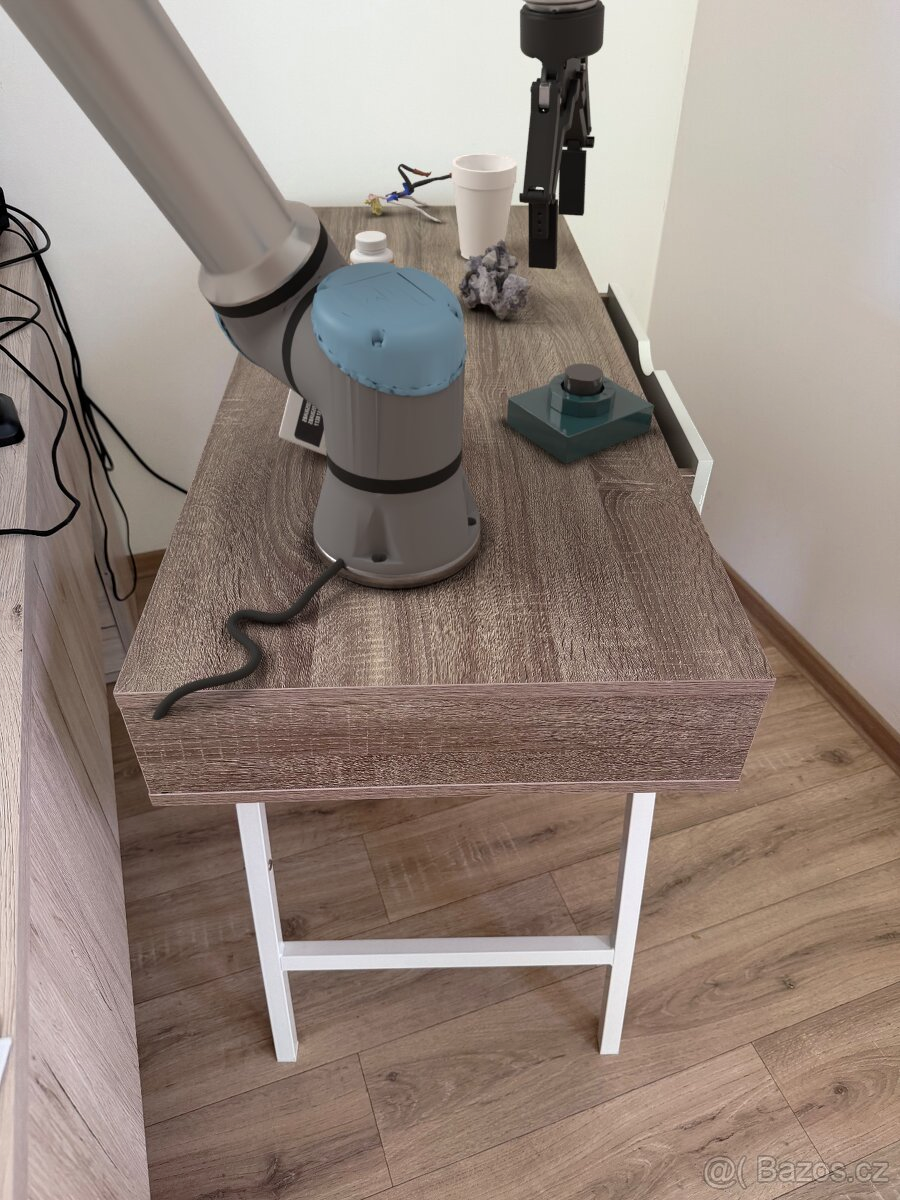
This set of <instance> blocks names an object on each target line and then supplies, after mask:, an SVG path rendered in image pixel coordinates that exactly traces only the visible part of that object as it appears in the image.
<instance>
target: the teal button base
mask: <svg viewBox="0 0 900 1200" xmlns="http://www.w3.org/2000/svg"><path fill="white" fill-rule="evenodd" d="M564 375H565V372H562V373H560V374H556V375H554V376H553V377H552V379H551V380H549V382H548V384H545V385H542V386H539V387H536V388H533V389H530V390H527V391H524V392H521V393H518V394H515V395H512V396H509V397H507V410H506V411H507V412H506V424H507V425H508V426H509V427H511V428H512V429H514V431H516V432H518V433H519V434H521V435H522V436H524V437H525V438H527V439H528V440H530V441H531V442H533V443H534V444H535V445H537V446H538V447H540V448H542V450H544V451H546V452H547V453H548V454H550V455H551V456H553V457H554V458H556V459H557V460H559V461H560V462H561V463H563V464H565V465H566V464H569V463H572V462H575V461H577V460H579V459H582V458H585V457H588V456H589V455H590V456H591V455H593V454H595V453H598V452H600V451H603V450H605V449H607V448H610V447H613V446H616V445H618V444H621V443H623V442H625V441H629V440H631V439H633V438H636V437H639V436H642V435H644V434H646V433H649V432H650V431H651V427H652V425H651V424H652V419H653V414H654V409H655V408H654V407H655V405H654V404H653V403H651V402H649V401H648V400H646V399H644V398H642V397H641V396H639V395H637V394H635V393H634V392H632V391H630V390H628V389H626V388H625V387H623V386H621V385H620V384H618V383H617V382H615V381H613V380H612V379H610V378H608V377H607V376H605V375H603V380H602V388H601V393H600V394H597V395H594V396H586V397H580V396H576V395H571V394H569V393H567V392H565V391H564V389H563V385H564Z"/></svg>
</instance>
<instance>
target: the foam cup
mask: <svg viewBox="0 0 900 1200" xmlns="http://www.w3.org/2000/svg"><path fill="white" fill-rule="evenodd" d="M517 172H518V163H517V160H516V159H514V158H512V157H510V156H507V155H503V154H498V153H485V152H482V153H481V152H480V153H468V154H463V155H459V156H456V157H454V158H453V159H452V160H451V173H452V178H451V182H452V184H453V185H452V186H453V193H454V203H455V204H454V205H455V211H456V222H457V231H458V239H459V249H460V255H461V257H462V258H464V259H466V260H469V256H470V255H471V256H474V257H475V256H479V255H482V256H483V255H485V250H486V248H487V247H491V246H492V245H495V246H496V245H497V243H498V241H499V239H502V240H503V241H505V242H506V236H507V229H508V224H509V218H510V212H511V206H512V202H513V201H512V200H513V194H514V191H515V190H514V189H515V184H517V174H518V173H517Z"/></svg>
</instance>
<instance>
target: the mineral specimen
mask: <svg viewBox="0 0 900 1200" xmlns="http://www.w3.org/2000/svg"><path fill="white" fill-rule="evenodd" d="M519 263H520V261H519V260H517V257H516V256H514V255H512V254H511V253H509V249H508V248H507V245H506V240H505V241H503V240H502V239H499V241H498V243H497V245H496V246H495V245H492V246H491V247H487V248H486V250H485V255H483V256H482V255H479V256H475V257H474V256H471V255H470V256H469V259H468V261H466V262H465V263H464V264H463V275H462V278H461V280H460V281H461V282H460V283H459V284H458V286H457V287H458V291H459V296H460V297H461V298H462V301H463V304H464V305H465V306H466V307H467V308H468V309H473V308H475V307H476V305H479V304H483V305H487V306H489V307H490V308H491V310H492V311H493V312H494V313H495V316H496V317H497V318H499V320H502V321H503V320H504V319H505V318H506V316H508V315H510V313H512V314H516V315H517V314H518V313H519V312H520V311H523V310H524V309H525V308H526V307H527V304H528V302H529V300H530V298H529V295H528V291H529V290H530V289H532V286H533V285H532V283H530V281H529V279H527V278H525V277H521V276H518V275H517V273H516V268H517V267H518V265H519Z"/></svg>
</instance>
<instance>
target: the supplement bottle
mask: <svg viewBox="0 0 900 1200" xmlns="http://www.w3.org/2000/svg"><path fill="white" fill-rule="evenodd" d="M354 239H355V248H354V249H353V250H352V251H351V252H350V254H349V262H350V263H349V264H350V265H353V264H358V263H367V262H382V263H393V264H394V265H395V262H394V260H395V259H394V253H393V251H392V250H391V249H390V248H388V241H387V234H385V232H382V231H378V230H366V231H361V232H358V233H357V234H356V235H355V236H354Z"/></svg>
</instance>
